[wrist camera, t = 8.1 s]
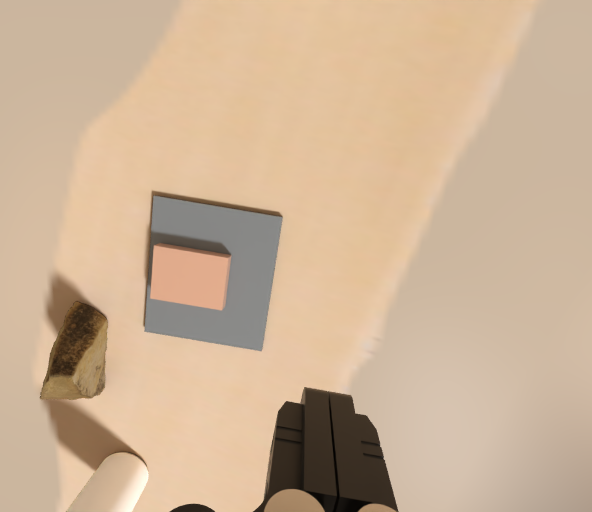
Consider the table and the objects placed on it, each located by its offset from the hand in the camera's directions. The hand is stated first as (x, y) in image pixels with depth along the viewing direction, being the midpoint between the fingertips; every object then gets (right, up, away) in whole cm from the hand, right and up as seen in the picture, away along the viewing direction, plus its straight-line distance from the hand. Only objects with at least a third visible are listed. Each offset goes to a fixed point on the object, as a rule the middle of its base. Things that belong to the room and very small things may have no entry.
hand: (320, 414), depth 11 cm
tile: (-8, +2, +26) cm, 27 cm away
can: (-24, -24, +34) cm, 48 cm away
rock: (-26, -6, +30) cm, 40 cm away
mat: (-10, +3, +27) cm, 29 cm away
